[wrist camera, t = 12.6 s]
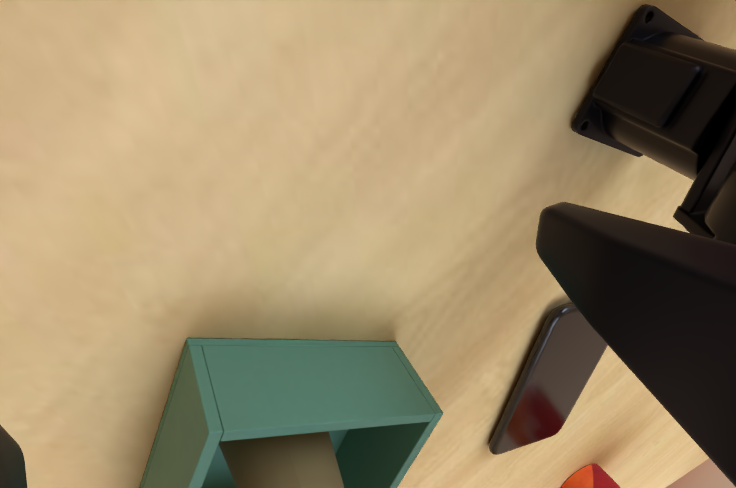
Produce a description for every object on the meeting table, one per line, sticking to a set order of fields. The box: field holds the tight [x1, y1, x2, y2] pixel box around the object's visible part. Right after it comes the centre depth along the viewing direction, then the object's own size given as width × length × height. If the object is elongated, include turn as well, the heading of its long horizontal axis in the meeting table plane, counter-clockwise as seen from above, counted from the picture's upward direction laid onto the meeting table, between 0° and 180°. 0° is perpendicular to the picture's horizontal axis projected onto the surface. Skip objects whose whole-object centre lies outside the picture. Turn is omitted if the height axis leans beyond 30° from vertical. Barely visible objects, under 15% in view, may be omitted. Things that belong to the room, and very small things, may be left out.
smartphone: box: [489, 303, 608, 455], centre depth 41 cm, size 8×1×16 cm
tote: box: [140, 338, 443, 488], centre depth 28 cm, size 12×12×6 cm
